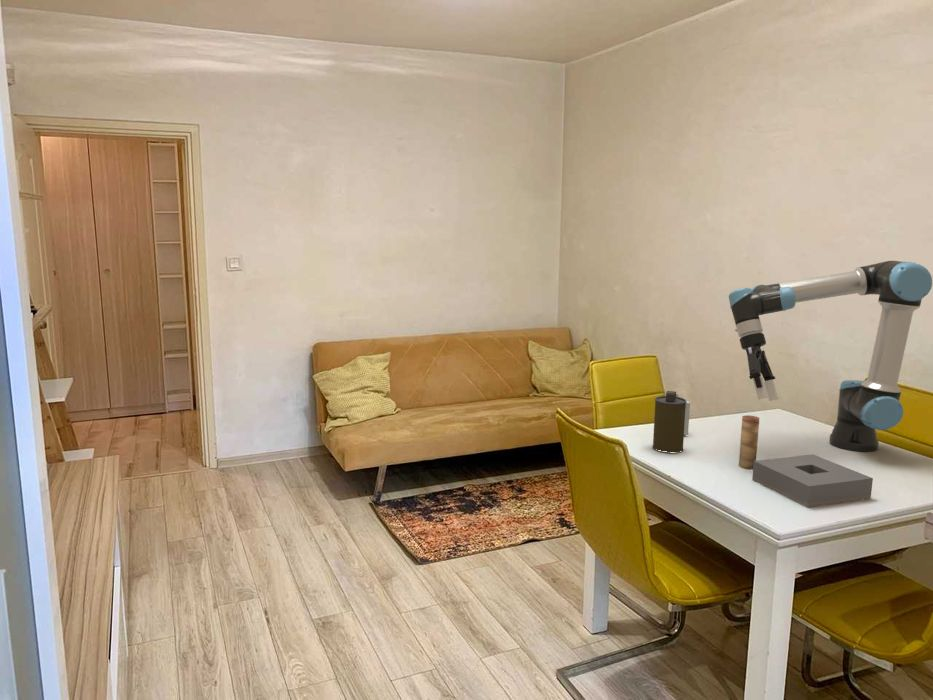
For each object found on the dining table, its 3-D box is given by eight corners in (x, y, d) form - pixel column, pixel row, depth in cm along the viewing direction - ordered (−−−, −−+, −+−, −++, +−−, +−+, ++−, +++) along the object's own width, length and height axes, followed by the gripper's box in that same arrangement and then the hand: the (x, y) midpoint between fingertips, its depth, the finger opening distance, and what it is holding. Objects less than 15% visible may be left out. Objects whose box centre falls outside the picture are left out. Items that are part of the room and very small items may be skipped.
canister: (681, 455, 236) (685, 396, 233) (650, 451, 240) (653, 393, 237) (685, 446, 246) (688, 389, 243) (654, 442, 250) (657, 387, 247)
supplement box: (688, 436, 257) (690, 402, 255) (668, 436, 257) (670, 402, 255) (682, 430, 265) (684, 397, 262) (662, 430, 265) (664, 397, 263)
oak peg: (748, 462, 229) (752, 414, 226) (759, 467, 224) (763, 418, 221) (735, 464, 227) (738, 416, 224) (745, 469, 223) (749, 420, 220)
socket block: (811, 472, 220) (813, 454, 219) (870, 498, 199) (872, 478, 198) (752, 479, 213) (753, 460, 212) (807, 507, 193) (809, 486, 192)
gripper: (749, 342, 242) (766, 403, 237) (728, 334, 221) (745, 400, 217) (772, 336, 237) (789, 397, 232) (752, 327, 217) (771, 394, 212)
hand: (768, 399), depth 224 cm, fingers open, 13 cm apart
